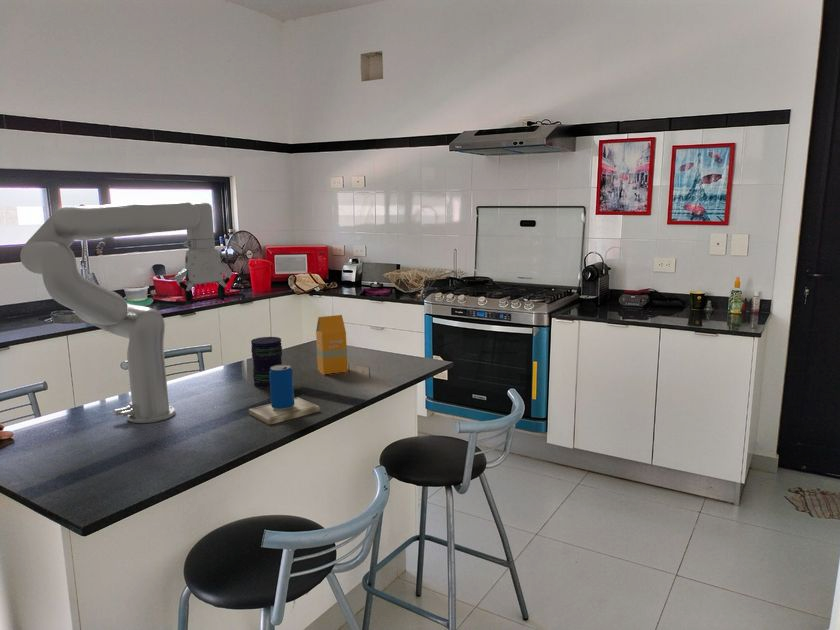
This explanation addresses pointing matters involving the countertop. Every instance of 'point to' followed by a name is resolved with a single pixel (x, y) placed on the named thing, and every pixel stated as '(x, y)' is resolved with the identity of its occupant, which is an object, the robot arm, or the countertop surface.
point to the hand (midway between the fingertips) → (205, 301)
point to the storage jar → (265, 358)
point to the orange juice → (331, 345)
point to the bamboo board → (283, 411)
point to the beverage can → (281, 387)
